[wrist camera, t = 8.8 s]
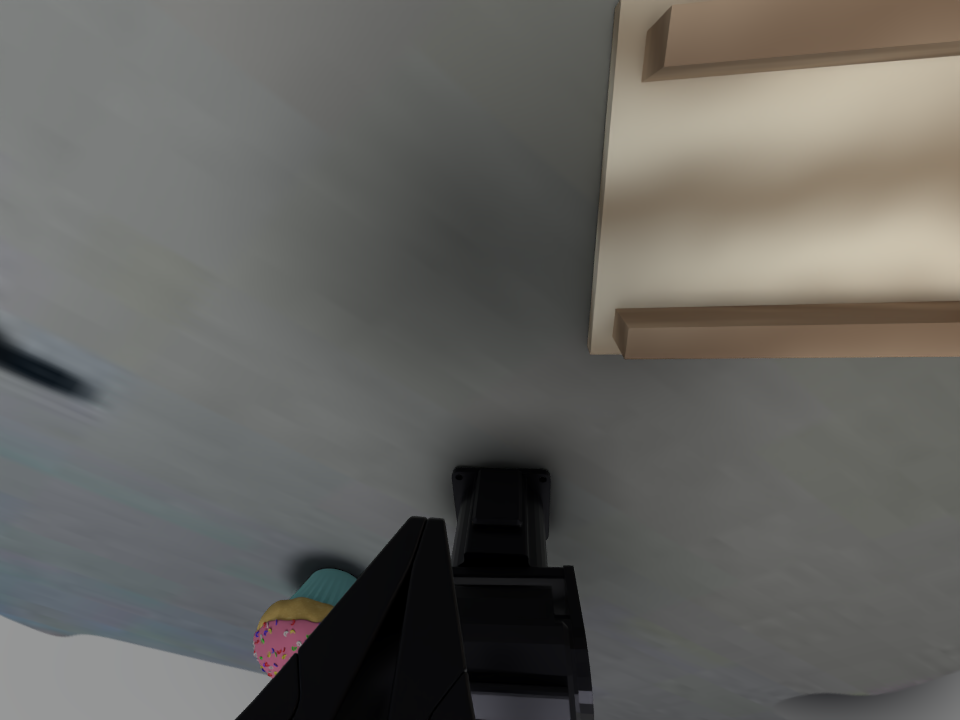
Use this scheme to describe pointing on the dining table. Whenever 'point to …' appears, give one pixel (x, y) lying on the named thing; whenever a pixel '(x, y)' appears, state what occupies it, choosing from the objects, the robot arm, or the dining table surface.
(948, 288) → the bay
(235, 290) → the dining table surface
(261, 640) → the cupcake
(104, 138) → the dining table surface
